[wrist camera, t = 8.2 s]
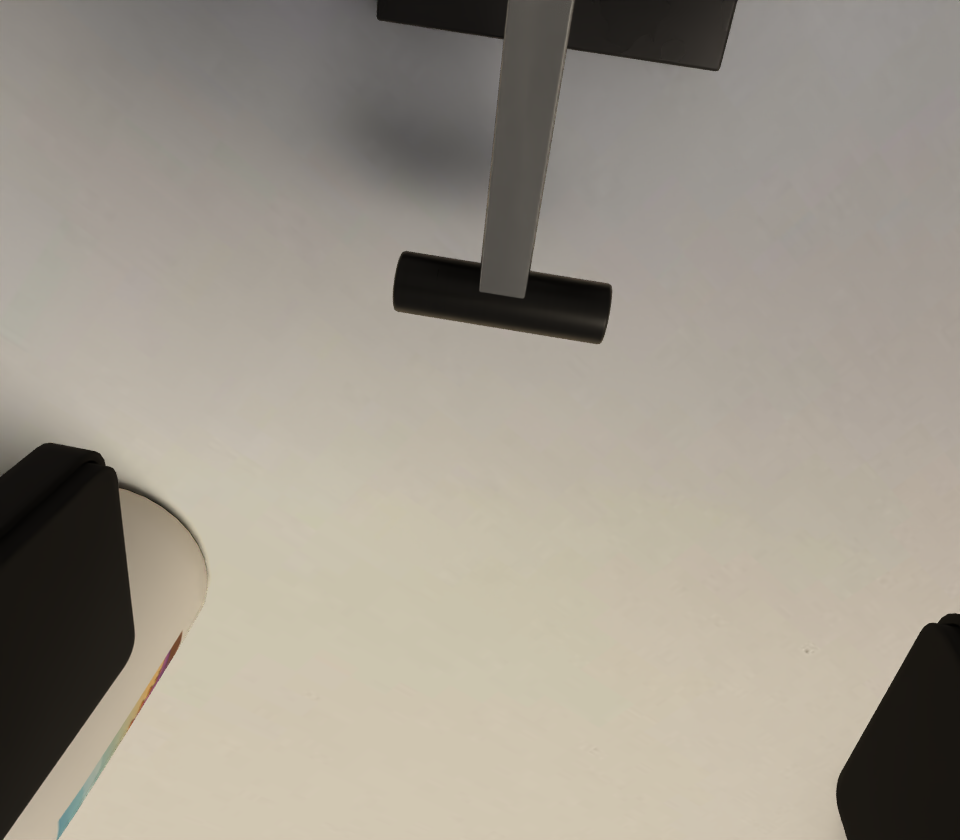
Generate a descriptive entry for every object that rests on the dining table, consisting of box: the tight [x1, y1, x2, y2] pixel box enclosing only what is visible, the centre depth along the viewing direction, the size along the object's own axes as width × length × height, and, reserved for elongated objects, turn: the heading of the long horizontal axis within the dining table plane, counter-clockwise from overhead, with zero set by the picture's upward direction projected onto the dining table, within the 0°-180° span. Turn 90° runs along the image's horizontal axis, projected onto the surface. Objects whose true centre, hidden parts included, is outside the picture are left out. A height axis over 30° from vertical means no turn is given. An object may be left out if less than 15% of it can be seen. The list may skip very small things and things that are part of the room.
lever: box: [393, 0, 612, 344], centre depth 14 cm, size 13×5×2 cm, turn 173°
